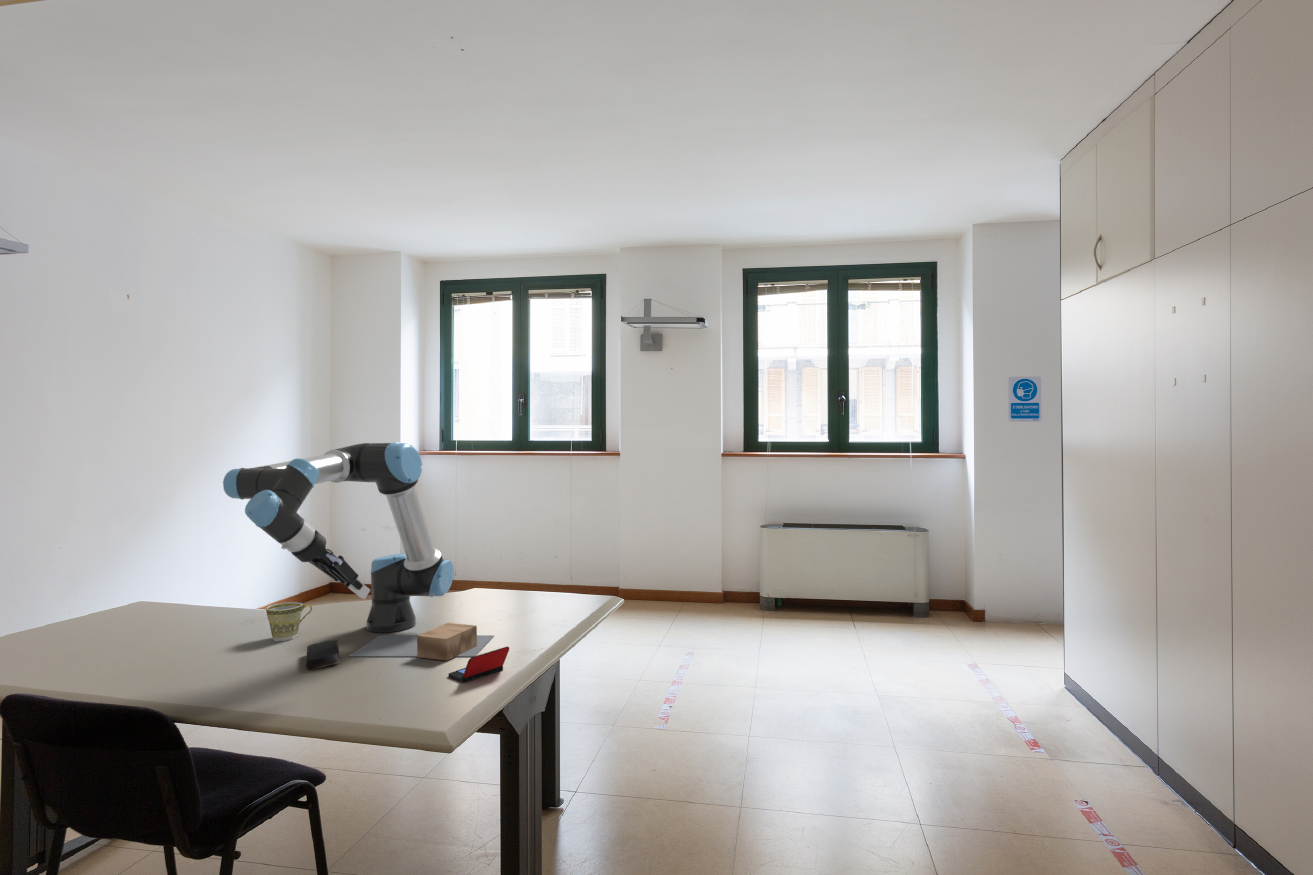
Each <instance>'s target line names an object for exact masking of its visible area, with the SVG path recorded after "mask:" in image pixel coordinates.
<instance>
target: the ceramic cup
mask: <svg viewBox="0 0 1313 875" xmlns="http://www.w3.org/2000/svg"><path fill="white" fill-rule="evenodd" d="M306 607H310V610H309V611H308V612H306V614H305V615H304V616H303V617H302V612H303V610H304V609H305V608H306ZM312 610H313V607H312V605H311V604H304V605H303V603H302V602H299V601H298V602H295V601H293V602H289V601H288V602H280V603H276V604H275V603H274V604H271V605H269V606H266V608H265V611H266V616H267V621H268V623H269V628H270V632H271V637H272V640H273V641H274V642H286V641H292V640H294V639H296V638H297V637H298V634H299V629H300V625H301V623H302V622H303V620H305V618H306V617H307V616H308V615H309V614H311V612H312ZM301 617H302V619H301Z"/></svg>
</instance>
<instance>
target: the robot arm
mask: <svg viewBox="0 0 1313 875" xmlns="http://www.w3.org/2000/svg"><path fill="white" fill-rule="evenodd" d="M422 466H423V463H422V458H421V455H420V453H419V451H418V450H417V449H416V447H414V446H413V445H412V444H409V443H406V442H405V443H404V442H397V441H396V442H374V443H373V442H371V443H370V442H365V443H363V442H362V443H357V444H356V443H355V444H352V445H349V446H344V447H339V448H335V449H330V450H327V451H326V452H325V453H324V454H323V455H316V456H310V457H307V458H300V457H299V458H297V457H296V458H294V459H292V460H288V461H284V462H278V463H277V462H276V463H272V464H266V465H262V466H256V467H247V468H245V467H240V468H231V469H230V470H228V472H227V473H225V475H224V478H223V481H222V485H223V486H222V488H223V491H224V493H225V494H226V495H227V496H228V497H229V498H231V499H240V500H248V501H247V503H246V505H245V507H244V513H245V515H246V516H247V518H248V519H249V520H250V521H251V522H252V523H254V525H255V526H256V527H257V528H260V529H261V530H262V531H264V532H265V533H266V534H267V535H268V536H270V537H271V538H272V539H274V541H276V542H277V543H278V544H279V545H281V549H282V550H285V549H286V550H287V551H288V552H290V553H291V555H292V556H294V557H295V558H296V559H297V560H299V561H300V562H302V563H309V564H311V565H312V566H314V567H315V568H317V569H318V570H319V571H321V572H322V573H324V574H325V575H327V576H328V577H329V578H331V579H332V580H334V581H335V582H340V583H341V584H344V586H345V587H346V588H348V589H349V590H350V591H352V592H353V593H354V594H355V595H356V596H358V597H359V598H360V599H363V600H365V599H366V597H367V596H368V595H369V594H370V592H371V606H370V609H369V611H368V612H369V613H368V616H367V619H366V624H365V625H366V628H365V629H366V630H367V631H368V632H372V633H394V632H399V631H405V630H408V629H411V628H412V627H415V626H416V624H417V618H416V613H415V611H414V609H413V608H414V607H413V606H412V603H411V600H410V599H411V597H412V596H414V597H415V596H416V597H430V598H434V597H442V596H443V597H444V595H445V594H447V593H448V591H449V590H450V588H451V585H452V583H453V580H454V573H455V571H454V570H455V569H454V564H453V562H452V561H451V560H448V559H443V556H442V553H441V550H440V549H439V548H436V547H435V546H434V543H433V540H432V536H431V534H430V533H431V532H430V531H429V528H428V524H427V521H426V518H425V515H424V511H423V508H422V504H421V501H420V499H419V495H418V492H417V489H416V485H417V484H418V483H419V478H420V477H421V474H422V471H423V468H422ZM325 482H331V483H335V484H338V483H341V482H354V483H355V482H357V483H375V485H376V487H377V490H378V492H379V493H380V494H381V495H383V496H386V500H387V502H388V506H389V508H390V512H391V515H392V517H393V520H394V523H395V526H396V529H397V530H396V531H397V532H398V534H399V538H400V541H401V545H402V547H403V550H404V552H402V553H395V554H389V555H384V556H380V557H377V558H374V559H373V560H371V568H370V575H371V576H370V582H371V583H370V584H371V588H369V587H367V585H365V584H364V583H363V582H362V581H361V580H360V579H359V578H358V577H359V574H358V573H357V572H356V571H355V570H354V569H353V568H352V566H350V564H348V562H347V561H346V560H345V558H344V557H343V555H338V557H337V556H336V555H335V553H334V552H333V550H331V549H329V548H326V546H327V545H326V544H327V539H326V538H325V537H324V535H322V534H321V532H319V531H317V530H316V529H315V527H314V526H313V525H311V524H310V523H309V522H308V521H307V520H305V518H303V517H302V516H301V515H300V514H299V513H298V511H299V509H300V508H301V506H302V505H303V503H304V502H305V500H306V499H307V497H308V496H309V493H310V492H311V491H312V489H313V488H314V487H315V485H318V484H322V483H325Z"/></svg>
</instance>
